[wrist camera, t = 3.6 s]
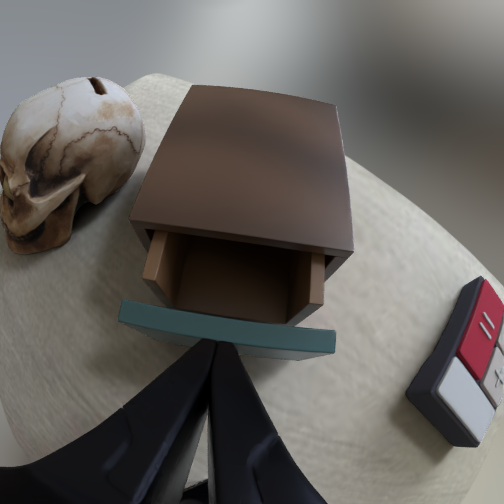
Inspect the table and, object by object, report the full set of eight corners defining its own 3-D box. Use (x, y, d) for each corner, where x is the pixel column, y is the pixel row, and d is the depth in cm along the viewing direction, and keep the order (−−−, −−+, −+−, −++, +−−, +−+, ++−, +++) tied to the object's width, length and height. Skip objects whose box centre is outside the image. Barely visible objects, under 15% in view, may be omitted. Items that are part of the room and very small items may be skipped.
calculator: (524, 333, 18) (482, 449, 12) (500, 342, 22) (453, 447, 16) (485, 270, 21) (435, 392, 15) (460, 285, 24) (403, 394, 19)
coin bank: (-1, 242, 21) (-59, 163, 9) (76, 143, 30) (55, 60, 18) (87, 296, 21) (6, 197, 9) (169, 164, 30) (165, 57, 18)
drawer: (297, 376, 18) (333, 377, 12) (150, 354, 18) (111, 343, 12) (307, 216, 24) (332, 161, 18) (187, 199, 24) (176, 139, 17)
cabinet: (308, 298, 22) (354, 252, 14) (162, 277, 22) (127, 219, 13) (310, 172, 28) (336, 105, 20) (197, 156, 27) (192, 84, 19)
